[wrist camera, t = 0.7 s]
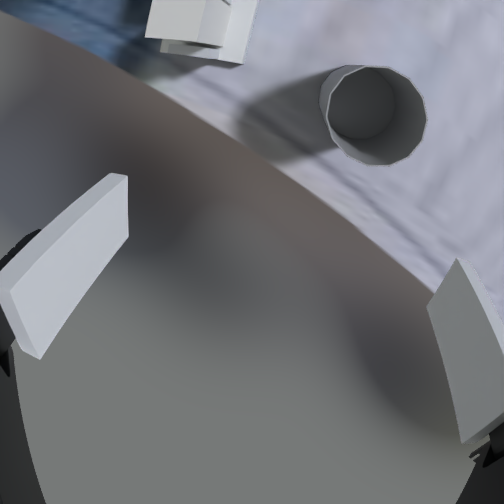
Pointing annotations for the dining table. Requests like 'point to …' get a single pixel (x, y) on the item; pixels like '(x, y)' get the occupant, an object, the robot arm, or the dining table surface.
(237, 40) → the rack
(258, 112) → the dining table surface
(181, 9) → the block
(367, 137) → the cup
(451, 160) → the dining table surface
